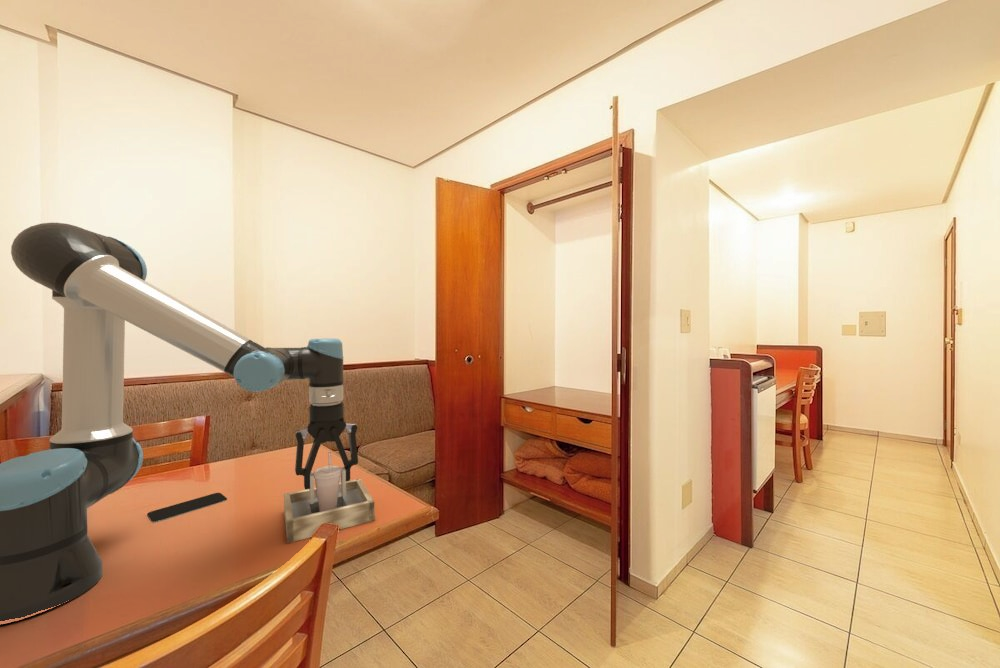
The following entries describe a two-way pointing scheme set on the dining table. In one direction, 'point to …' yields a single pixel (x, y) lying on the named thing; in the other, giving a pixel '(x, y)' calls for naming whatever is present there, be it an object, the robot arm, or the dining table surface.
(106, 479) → the robot arm
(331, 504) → the smoothie
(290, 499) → the socket box
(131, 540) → the dining table surface
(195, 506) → the smartphone
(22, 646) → the dining table surface
